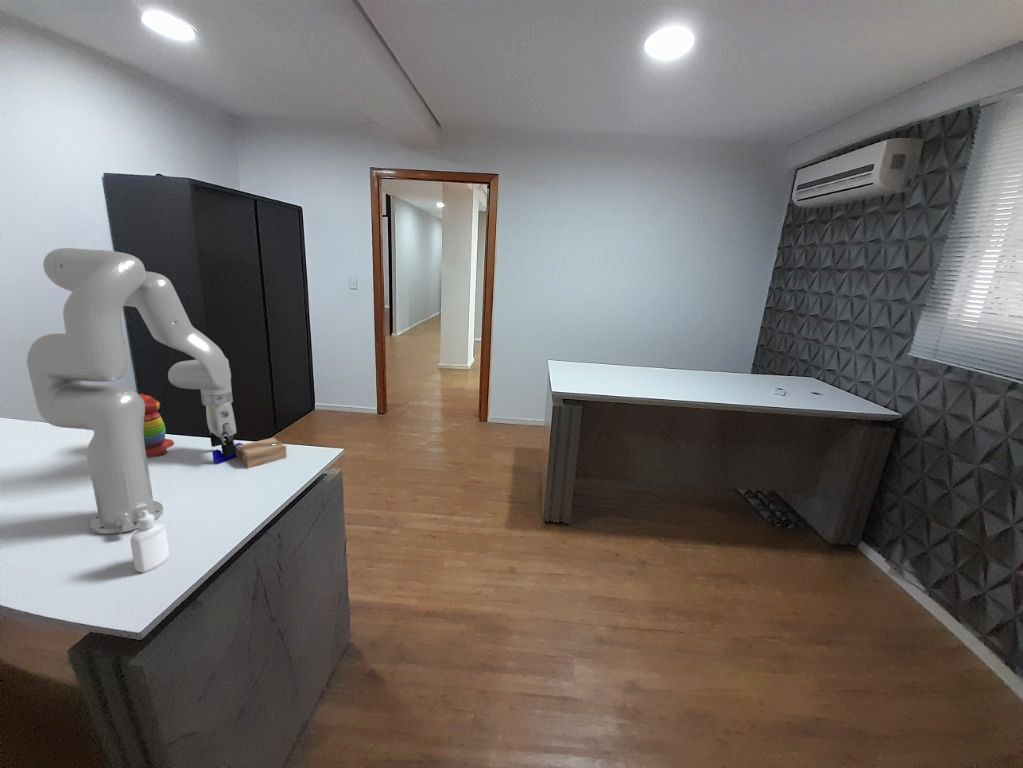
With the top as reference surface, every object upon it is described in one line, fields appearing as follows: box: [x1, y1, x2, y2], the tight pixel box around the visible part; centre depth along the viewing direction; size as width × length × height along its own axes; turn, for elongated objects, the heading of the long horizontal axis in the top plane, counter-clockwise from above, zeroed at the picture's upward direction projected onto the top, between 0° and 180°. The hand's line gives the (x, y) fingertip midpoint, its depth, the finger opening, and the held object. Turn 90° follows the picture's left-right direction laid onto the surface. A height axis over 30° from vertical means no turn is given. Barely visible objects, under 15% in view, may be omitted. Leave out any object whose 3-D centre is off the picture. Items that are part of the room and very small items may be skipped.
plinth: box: [234, 437, 287, 469], centre depth 133 cm, size 9×11×4 cm
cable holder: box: [211, 442, 243, 465], centre depth 132 cm, size 8×4×4 cm, turn 152°
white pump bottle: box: [130, 510, 171, 574], centre depth 85 cm, size 4×6×12 cm
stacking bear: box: [139, 393, 175, 458], centre depth 131 cm, size 11×10×18 cm
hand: (223, 450), depth 133 cm, fingers open, 9 cm apart
